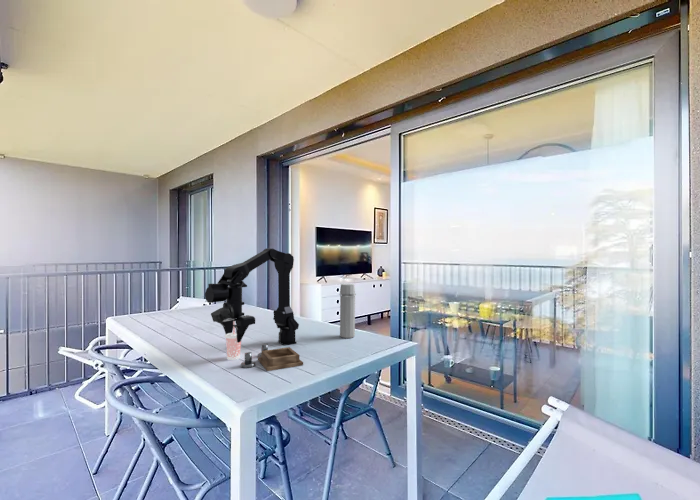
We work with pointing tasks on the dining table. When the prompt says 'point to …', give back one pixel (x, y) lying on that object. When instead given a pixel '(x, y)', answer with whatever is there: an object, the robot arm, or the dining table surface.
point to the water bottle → (347, 310)
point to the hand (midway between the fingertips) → (233, 340)
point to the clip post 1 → (248, 361)
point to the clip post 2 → (263, 348)
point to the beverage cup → (232, 345)
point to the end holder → (279, 359)
